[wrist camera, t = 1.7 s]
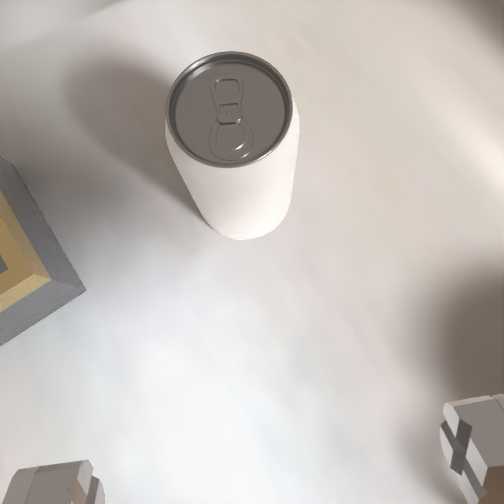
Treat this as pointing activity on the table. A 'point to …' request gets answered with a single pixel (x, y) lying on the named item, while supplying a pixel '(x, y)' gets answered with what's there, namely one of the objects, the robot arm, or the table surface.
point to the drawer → (29, 260)
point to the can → (234, 141)
